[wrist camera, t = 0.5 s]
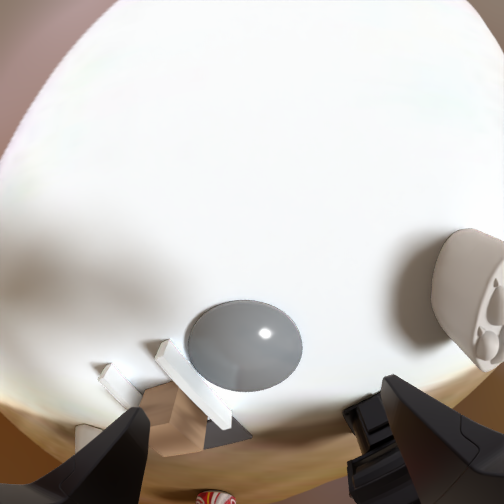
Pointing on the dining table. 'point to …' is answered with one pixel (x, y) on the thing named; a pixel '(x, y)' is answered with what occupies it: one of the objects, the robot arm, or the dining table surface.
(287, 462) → the dining table surface
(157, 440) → the block
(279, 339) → the coaster
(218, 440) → the pad
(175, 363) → the trough
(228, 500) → the soda can
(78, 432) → the flask
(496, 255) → the lumpy-topped squat cylinder
